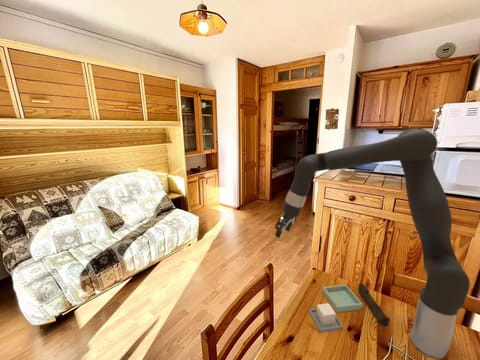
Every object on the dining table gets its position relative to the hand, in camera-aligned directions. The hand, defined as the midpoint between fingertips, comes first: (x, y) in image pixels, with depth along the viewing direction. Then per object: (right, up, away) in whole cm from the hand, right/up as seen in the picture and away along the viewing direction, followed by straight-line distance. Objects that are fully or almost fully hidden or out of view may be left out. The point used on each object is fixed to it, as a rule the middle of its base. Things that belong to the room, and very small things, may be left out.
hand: (282, 233), depth 92 cm
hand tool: (+36, -30, -3) cm, 47 cm away
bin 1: (+15, -32, -10) cm, 37 cm away
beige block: (+15, -31, -10) cm, 36 cm away
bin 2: (+26, -29, -1) cm, 39 cm away
